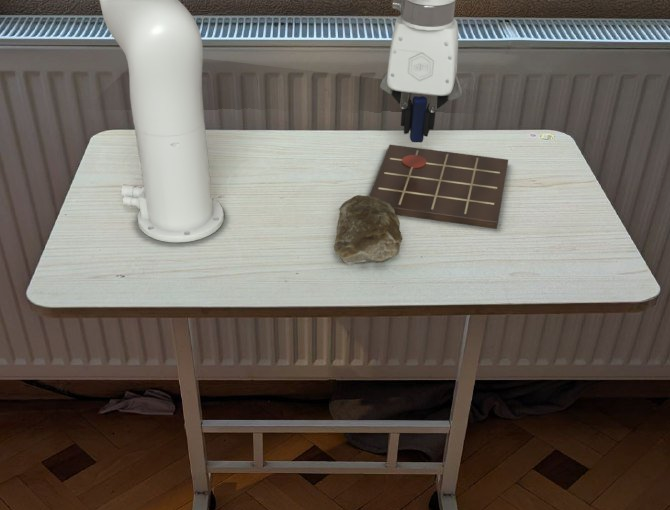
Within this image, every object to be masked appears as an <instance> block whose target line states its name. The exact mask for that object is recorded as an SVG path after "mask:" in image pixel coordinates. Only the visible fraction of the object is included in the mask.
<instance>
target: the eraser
mask: <svg viewBox="0 0 670 510" xmlns="http://www.w3.org/2000/svg"><path fill="white" fill-rule="evenodd" d="M427 106H428V99H427V97H426V96H425V95H423V96H422V95H421V96H417V95H415V96H413V98H412V116H411V126H410V131H409V139H410V142H411V143H423V142H424V137H425V136H424V135H423V129H424V118H425V112H426V109H427Z"/></svg>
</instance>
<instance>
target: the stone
mask: <svg viewBox="0 0 670 510" xmlns="http://www.w3.org/2000/svg"><path fill="white" fill-rule="evenodd" d="M338 211H339V212H338V215H339V216H338V220H337V225H336V232H335V233H336V235H335V239H334V245H333V250H334V251H335V253H336V254H337V255H338V256H339V258H340V259H341V261H342V262H343V263H345V264H346V265H348V266H349V265H352V264H356V265H359V264H360V265H361V264H367V263H384V262H386V261H387V260H388V259H391V258H392V257H395V256H397V255H399V254H400V249H401V244H402V241H403V236H402V232H401V229H400V227H401V226H400V225H401V224H400V223H401V222H400V219H399V217H398V215H396V214H395V211H394V209H393V208H392V207H391V206H390V204H389V203H387V202H385V201H381V200H379V199H377V198H375V197H371V196H369V195H361V194H357V195H354V196H353V197H352V196H351V198H349V199H347V200H346V201H344V202H343V203H342V204H341V206H339V208H338Z"/></svg>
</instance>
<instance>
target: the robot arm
mask: <svg viewBox="0 0 670 510" xmlns="http://www.w3.org/2000/svg"><path fill="white" fill-rule="evenodd" d="M456 2H457V0H392V4H391V7H392V9H393V10H397V11H399V13H400V15H398V17H397V18H396V19H395V22H394V26H393V30H392V35H391V41H390V46H389V54H388V55H389V56H388V65H387V71H386V73H385V75H384V76H383V77H382V80H381V82H380V84H379V88H380V89H381V90H383V92H386V93H387V94H389V95H391V96H392V97H393V98H394V100H395V101H396V102H397V103H398V104H399V108H400V109H401V116H400V117H401V118H400V126H401V127H403V134H404V135H408V134H410V126H411V116H412V103H413V100H412V99H411V96H412V94H418V95H424V96H425V95H426V96H429V98H428V103H427V108H426V112H425V118H424V129H423V135H424V137H426V138H427V137H428V135H429V134H430V133H429V132H430V130H434V128H435V122H436V112H437V110H438V109H439V108H441V107H442V106H444V105H445V104H446V103H447V102H449V101H450V102H451V101H454V100H457V99H460V98H461V97H462V94H463V89H462V86H461V83H460V81H459V78H458V73H457V72H458V62H459V61H458V59H459V25H458V21H457V19H456V18H455V10H456ZM99 4H100V9H101V12H102V17H103V20H104V23H105V26H106V28H107V30H108V31H109V33H110V35H111V37H112V38H113V39H114V41H115V42H116V43H117V45H118V46H119V47H120V49H121V50H122V52H123V53H124V55H125V58H126V63H127V67H128V79H129V82H128V83H129V99H130V100H129V101H130V108H131V116H132V123H133V127H134V133H135V134H134V135H135V139H136V145H137V147H136V148H137V153H138V159H139V167H140V173H141V180H142V187H141V186H137V185H131V184H126V183H124V184H122V185H121V190H120V194H121V197H122V205H124V206H129V207H137V209H139V211H138V213H137V224H138V227H139V230H141V232H142V233H144V234H145V235H146V236H148V237H149V238H151V239H154V240H157V241H160V242H165V243H177V244H179V243H189V242H194V241H195V242H196V241H198V240H199V241H200V240H202V239H205V238H207V237H209V236H210V235H213V234H214V233H215V232H217V231H218V230H219V229H220V227H221V226H222V225H223V224H224V220H225V217H224V216H225V215H224V213H225V212H224V209H223V206H222V204H221V203H219V202H218V201H217V200H216V199H214V198H213V197H212V187H211V177H210V165H209V155H208V154H209V153H208V143H207V132H206V120H205V119H206V118H205V111H204V100H203V99H204V98H203V65H204V45H203V38H202V35H201V32H200V29H199V28H200V27H198V24H197V23H196V20H195V19H194V16H193V15H192V13H191V12H190V11H189V10H188V9H187V7H186V6H185V5H184V4H183V3H182V2H181V1H180V0H99Z"/></svg>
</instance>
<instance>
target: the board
mask: <svg viewBox="0 0 670 510" xmlns="http://www.w3.org/2000/svg"><path fill="white" fill-rule="evenodd" d="M508 164H509V159H506V158H498V157H491V156H484V155H483V156H482V155H475V154H468V153H459V152H453V151H443V150H436V149H429V148H422V147H421V148H420V147H412V146H406V145H405V146H404V145H397V144H389V145H388V147H387V150H386V153H385V155H384V157H383V160H382V163H381V165H380V166H379V167H380V168H379V170H378V172H377V175H376V178H375V180H374V183H373V185H372V188H371V190H370V193H369V195H368V196H371V197H375V198H377V199H379V200H381V201H385V202H387V203H389V204H390V206H391V207H392V208H393V209H394V211H395V214H396V215H397V216H404V217H409V218H416V219H417V218H418V219H423V220H425V219H426V220H431V221H438V222H446V223H452V224H459V225H460V224H461V225H467V226H473V227H481V228H488V229H495V230H496V229H498V224H499V219H500V218H499V217H500V212H501V208H502V207H501V206H502V200H503V194H504V187H505V182H506V176H507V172H508V171H507V170H508Z"/></svg>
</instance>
